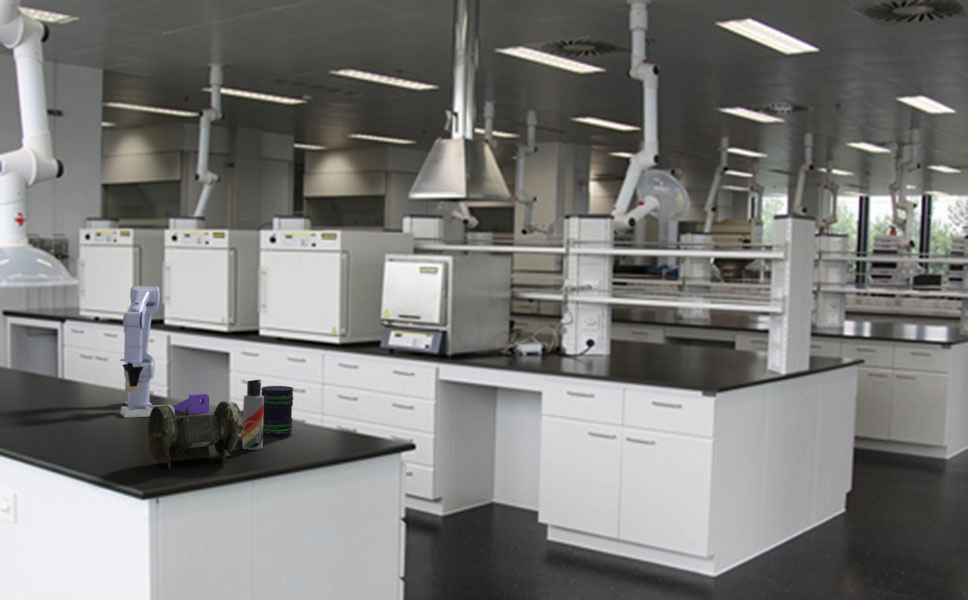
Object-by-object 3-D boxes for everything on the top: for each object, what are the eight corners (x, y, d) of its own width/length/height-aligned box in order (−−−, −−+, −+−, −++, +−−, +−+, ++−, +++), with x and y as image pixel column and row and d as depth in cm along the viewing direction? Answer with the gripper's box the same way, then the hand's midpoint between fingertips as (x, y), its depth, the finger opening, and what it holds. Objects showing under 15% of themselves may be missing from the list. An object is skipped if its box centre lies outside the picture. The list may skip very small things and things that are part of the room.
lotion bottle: (252, 450, 269) (254, 381, 268) (237, 448, 272) (239, 379, 271) (266, 448, 274) (268, 379, 273) (252, 445, 277) (254, 377, 276)
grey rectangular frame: (120, 413, 321) (121, 406, 321) (169, 411, 329) (169, 404, 329) (124, 417, 314) (125, 410, 314) (174, 415, 322) (174, 408, 322)
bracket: (208, 413, 331) (209, 393, 331) (191, 415, 326) (192, 395, 325) (189, 408, 339) (189, 389, 338) (172, 410, 333) (172, 391, 333)
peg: (125, 390, 328) (125, 370, 328) (137, 390, 330) (137, 370, 329) (127, 392, 324) (127, 371, 324) (139, 391, 326) (139, 371, 326)
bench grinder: (250, 455, 247) (242, 382, 254) (164, 458, 234) (159, 382, 241) (223, 475, 262) (216, 406, 269) (141, 479, 249) (136, 406, 256)
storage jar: (281, 431, 299) (282, 385, 299) (298, 436, 292) (299, 388, 292) (253, 435, 292) (254, 387, 292) (270, 440, 285) (271, 391, 285)
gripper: (117, 344, 331) (116, 383, 331) (124, 348, 318) (123, 388, 319) (138, 344, 334) (137, 382, 335) (146, 348, 322) (145, 387, 322)
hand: (132, 385), depth 327 cm, fingers closed on peg, 4 cm apart
